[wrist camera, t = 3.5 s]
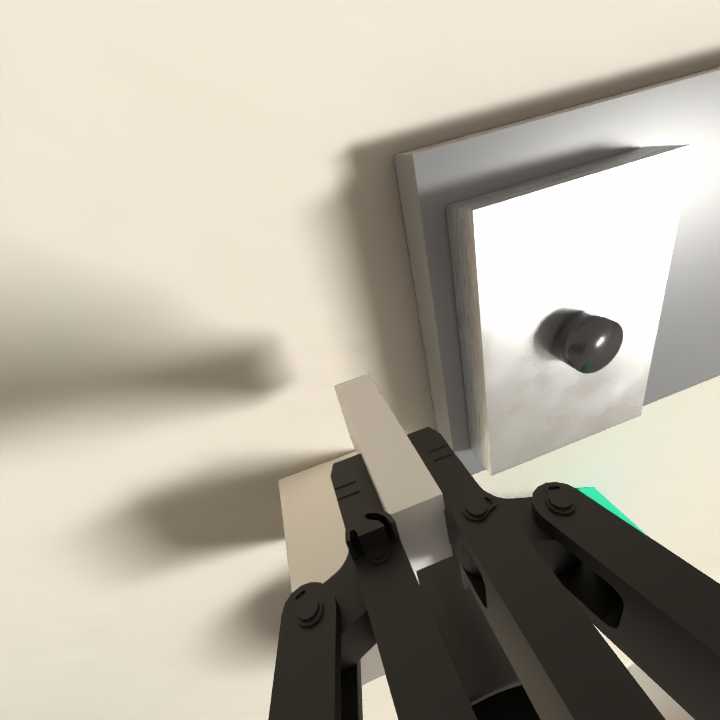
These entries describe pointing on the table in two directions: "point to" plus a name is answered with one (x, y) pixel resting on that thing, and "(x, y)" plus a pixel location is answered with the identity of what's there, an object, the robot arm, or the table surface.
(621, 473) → the table surface
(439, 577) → the mug
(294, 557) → the plug
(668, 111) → the grey flat frame
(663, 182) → the panel
